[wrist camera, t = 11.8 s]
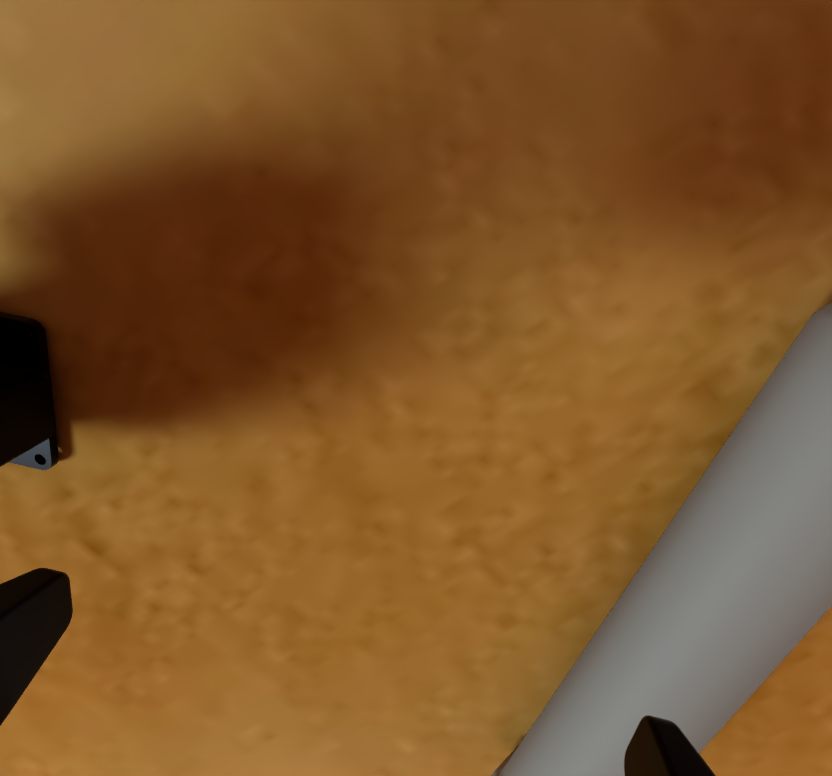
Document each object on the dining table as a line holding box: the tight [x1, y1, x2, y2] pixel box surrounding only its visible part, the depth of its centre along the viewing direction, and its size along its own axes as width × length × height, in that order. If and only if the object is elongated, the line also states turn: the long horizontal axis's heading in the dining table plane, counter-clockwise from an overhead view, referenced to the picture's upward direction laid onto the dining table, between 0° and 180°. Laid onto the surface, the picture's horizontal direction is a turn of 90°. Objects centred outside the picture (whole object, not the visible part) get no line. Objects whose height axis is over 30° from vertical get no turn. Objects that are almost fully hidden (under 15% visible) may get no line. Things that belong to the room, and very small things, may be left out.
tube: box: [492, 302, 832, 776], centre depth 19 cm, size 5×5×25 cm
